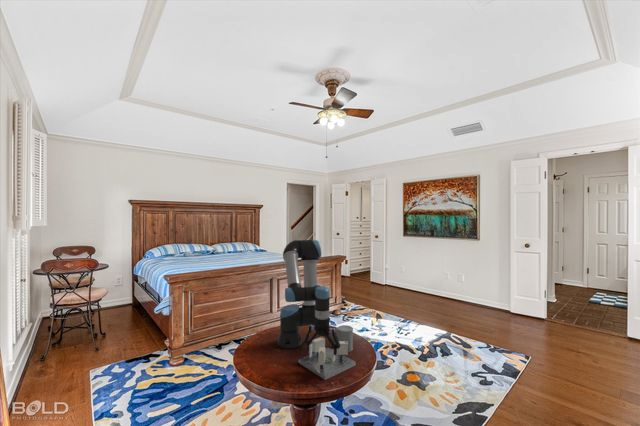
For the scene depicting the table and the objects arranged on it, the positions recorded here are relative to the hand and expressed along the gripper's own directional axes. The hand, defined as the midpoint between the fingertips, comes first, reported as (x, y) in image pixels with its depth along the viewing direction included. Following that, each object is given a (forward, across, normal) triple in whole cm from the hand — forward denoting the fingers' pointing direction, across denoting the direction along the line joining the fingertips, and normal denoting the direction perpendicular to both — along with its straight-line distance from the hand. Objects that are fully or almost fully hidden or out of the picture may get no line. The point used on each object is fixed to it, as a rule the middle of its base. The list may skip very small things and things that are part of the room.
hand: (321, 358), depth 158 cm
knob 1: (+4, 0, 0) cm, 4 cm away
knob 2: (+4, +7, +12) cm, 15 cm away
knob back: (+4, -6, +12) cm, 14 cm away
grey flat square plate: (+7, 0, +8) cm, 10 cm away
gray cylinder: (+7, +5, +30) cm, 31 cm away
